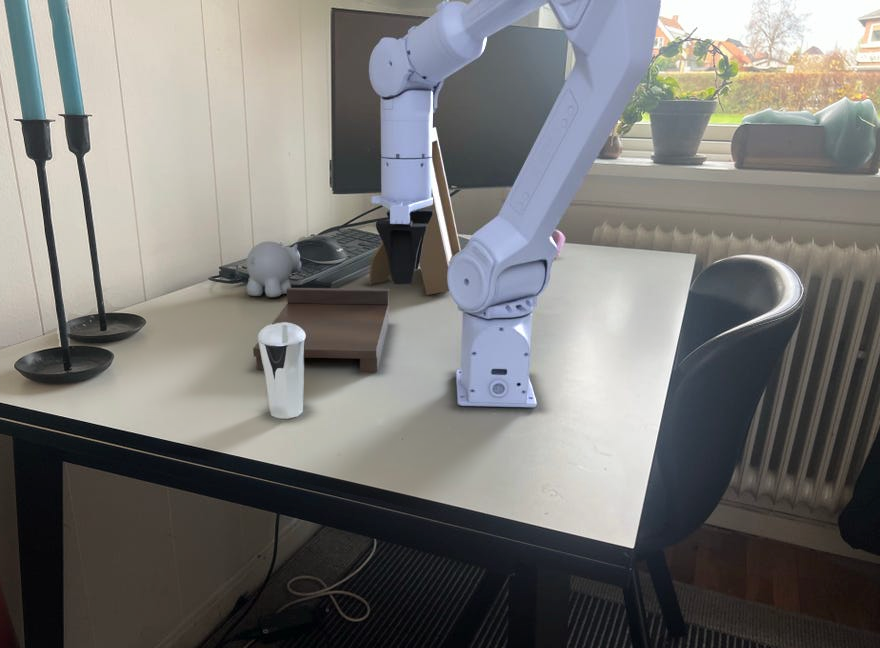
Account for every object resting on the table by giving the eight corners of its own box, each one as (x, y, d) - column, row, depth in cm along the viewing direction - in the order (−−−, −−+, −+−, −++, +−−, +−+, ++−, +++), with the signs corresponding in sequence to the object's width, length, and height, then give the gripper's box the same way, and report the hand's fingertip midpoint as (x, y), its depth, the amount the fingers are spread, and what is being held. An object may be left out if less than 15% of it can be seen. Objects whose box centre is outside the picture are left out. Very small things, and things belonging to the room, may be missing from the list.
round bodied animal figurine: (319, 285, 119) (317, 235, 116) (275, 302, 109) (272, 247, 106) (284, 281, 122) (281, 232, 120) (239, 297, 112) (234, 243, 110)
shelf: (376, 375, 80) (376, 333, 79) (254, 373, 81) (251, 331, 79) (388, 323, 99) (388, 288, 97) (289, 322, 100) (287, 287, 98)
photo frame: (463, 266, 133) (467, 127, 125) (452, 296, 113) (457, 131, 104) (385, 264, 135) (384, 126, 127) (362, 292, 115) (359, 131, 107)
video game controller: (561, 264, 142) (569, 231, 143) (555, 257, 138) (563, 223, 139) (516, 258, 147) (524, 226, 148) (508, 252, 143) (516, 219, 144)
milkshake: (266, 427, 67) (259, 327, 64) (261, 405, 72) (254, 311, 69) (313, 422, 68) (309, 323, 65) (305, 401, 73) (301, 308, 70)
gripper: (380, 152, 87) (381, 262, 91) (360, 162, 73) (363, 290, 78) (437, 153, 86) (435, 263, 91) (428, 162, 72) (427, 291, 77)
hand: (406, 275), depth 84 cm, fingers open, 7 cm apart
